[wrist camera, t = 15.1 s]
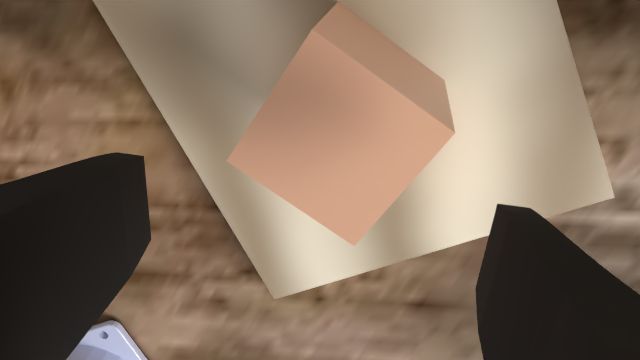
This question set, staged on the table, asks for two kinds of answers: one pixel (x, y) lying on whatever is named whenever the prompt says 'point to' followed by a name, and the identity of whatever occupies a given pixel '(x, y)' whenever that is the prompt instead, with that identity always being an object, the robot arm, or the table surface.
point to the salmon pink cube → (346, 126)
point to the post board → (438, 175)
